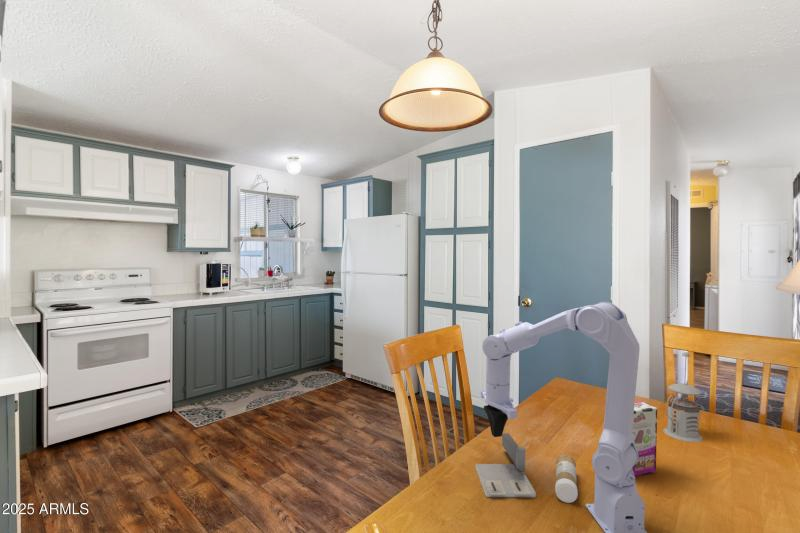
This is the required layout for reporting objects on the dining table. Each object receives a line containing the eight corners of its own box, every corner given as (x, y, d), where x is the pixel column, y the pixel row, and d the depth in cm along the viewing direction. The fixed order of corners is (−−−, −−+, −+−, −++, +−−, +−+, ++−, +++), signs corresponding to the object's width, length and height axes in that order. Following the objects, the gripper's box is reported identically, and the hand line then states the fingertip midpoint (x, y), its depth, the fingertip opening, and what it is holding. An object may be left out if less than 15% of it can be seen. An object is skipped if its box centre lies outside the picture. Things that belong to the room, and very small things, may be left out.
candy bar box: (639, 462, 105) (642, 400, 104) (656, 473, 100) (659, 408, 99) (603, 468, 102) (606, 404, 101) (619, 479, 97) (622, 412, 96)
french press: (710, 438, 119) (714, 354, 117) (684, 445, 114) (688, 358, 113) (677, 425, 128) (680, 347, 127) (651, 430, 123) (654, 350, 122)
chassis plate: (536, 498, 89) (536, 493, 89) (486, 498, 89) (486, 492, 89) (519, 468, 101) (519, 463, 101) (475, 467, 101) (475, 462, 101)
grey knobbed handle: (517, 470, 98) (518, 451, 97) (501, 446, 110) (501, 428, 109) (526, 470, 98) (526, 450, 98) (509, 445, 110) (509, 428, 110)
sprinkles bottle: (563, 474, 100) (563, 507, 88) (552, 458, 101) (550, 487, 89) (580, 467, 99) (582, 498, 86) (568, 450, 99) (569, 479, 87)
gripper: (528, 390, 95) (527, 447, 95) (497, 372, 108) (496, 421, 109) (502, 393, 93) (500, 451, 93) (473, 374, 107) (472, 424, 107)
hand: (496, 435), depth 101 cm, fingers closed
